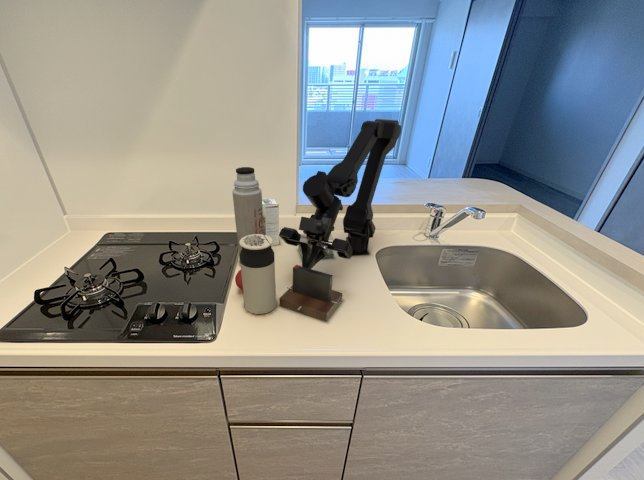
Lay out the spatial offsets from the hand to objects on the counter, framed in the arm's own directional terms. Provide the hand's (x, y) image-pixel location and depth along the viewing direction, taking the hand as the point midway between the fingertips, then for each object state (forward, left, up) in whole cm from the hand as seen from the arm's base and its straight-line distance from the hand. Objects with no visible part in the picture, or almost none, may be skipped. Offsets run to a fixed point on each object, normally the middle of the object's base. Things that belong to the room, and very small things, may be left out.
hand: (303, 273), depth 81 cm
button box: (-8, -24, -7) cm, 27 cm away
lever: (-1, +3, -5) cm, 6 cm away
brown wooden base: (-1, +3, -7) cm, 8 cm away
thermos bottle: (+12, -22, -7) cm, 26 cm away
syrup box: (+6, -35, -7) cm, 36 cm away
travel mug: (+12, +2, -7) cm, 14 cm away
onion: (+15, -5, -7) cm, 17 cm away
